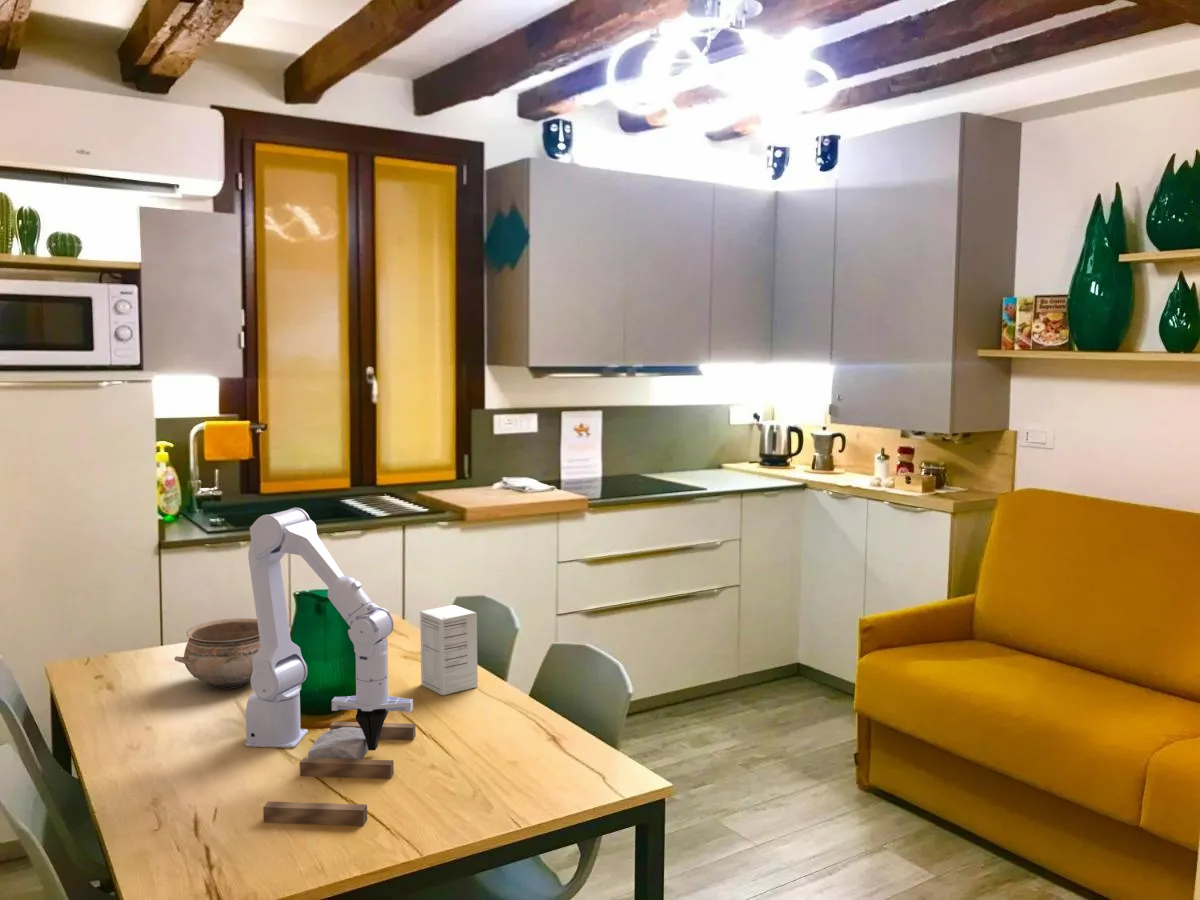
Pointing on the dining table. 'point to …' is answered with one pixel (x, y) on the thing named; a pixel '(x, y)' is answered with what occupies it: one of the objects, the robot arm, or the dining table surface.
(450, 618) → the supplement box
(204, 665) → the cooking pot
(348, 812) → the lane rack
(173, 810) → the dining table surface
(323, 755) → the stone block
